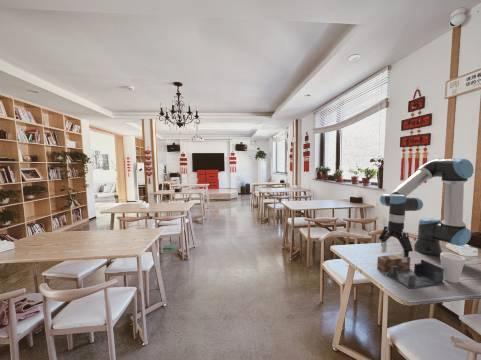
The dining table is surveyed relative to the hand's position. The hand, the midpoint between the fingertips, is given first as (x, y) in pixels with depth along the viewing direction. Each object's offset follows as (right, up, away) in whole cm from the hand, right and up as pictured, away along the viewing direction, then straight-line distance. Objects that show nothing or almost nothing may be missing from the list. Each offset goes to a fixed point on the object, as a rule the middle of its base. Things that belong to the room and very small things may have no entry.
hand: (393, 257), depth 130 cm
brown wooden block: (0, -7, +1) cm, 7 cm away
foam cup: (+22, -8, -12) cm, 26 cm away
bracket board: (+3, -8, -12) cm, 15 cm away
